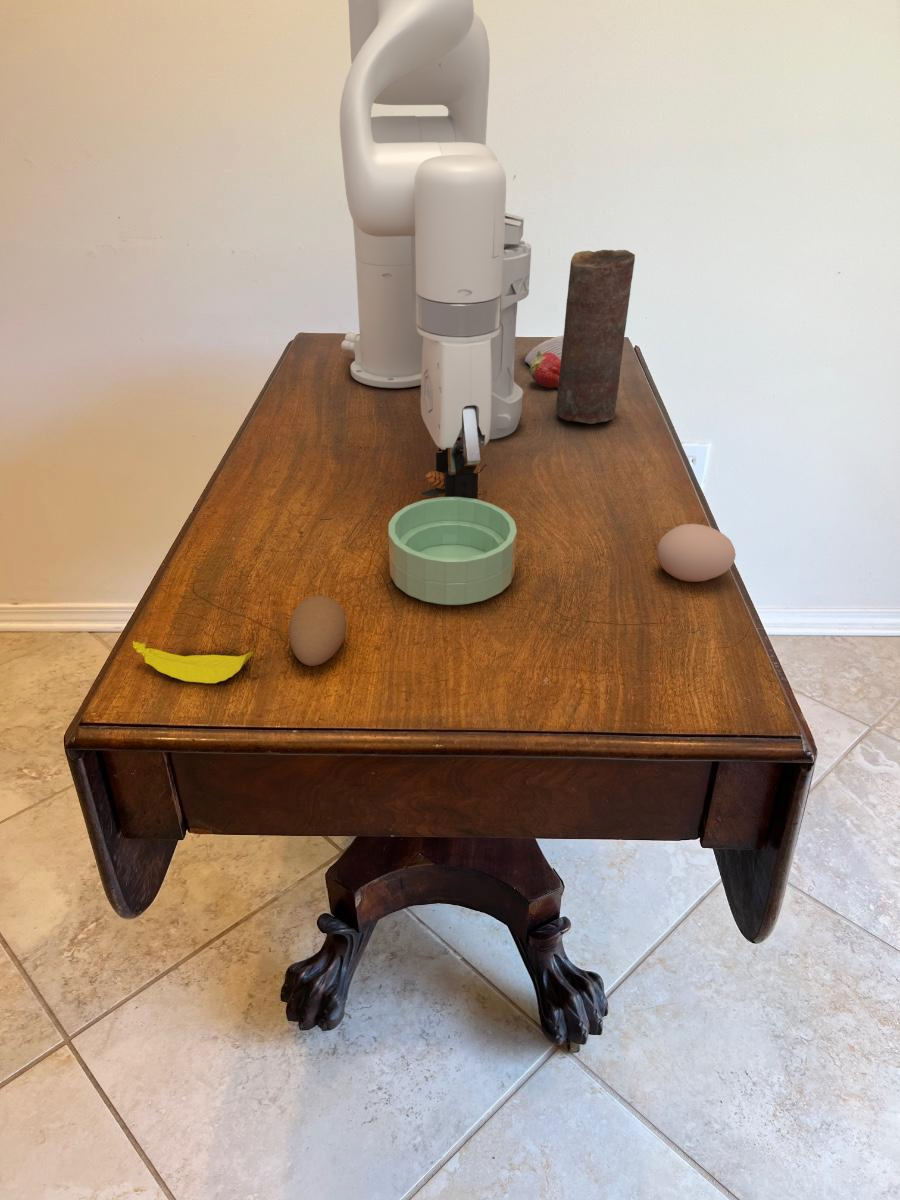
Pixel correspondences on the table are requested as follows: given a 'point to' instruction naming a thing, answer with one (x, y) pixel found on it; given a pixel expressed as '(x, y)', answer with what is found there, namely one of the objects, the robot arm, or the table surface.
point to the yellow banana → (193, 664)
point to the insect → (438, 483)
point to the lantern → (502, 327)
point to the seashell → (546, 349)
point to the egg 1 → (317, 629)
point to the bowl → (452, 550)
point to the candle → (594, 334)
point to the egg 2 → (695, 552)
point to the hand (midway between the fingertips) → (456, 495)
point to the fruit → (546, 370)
